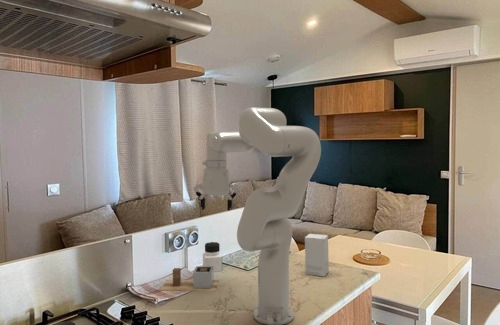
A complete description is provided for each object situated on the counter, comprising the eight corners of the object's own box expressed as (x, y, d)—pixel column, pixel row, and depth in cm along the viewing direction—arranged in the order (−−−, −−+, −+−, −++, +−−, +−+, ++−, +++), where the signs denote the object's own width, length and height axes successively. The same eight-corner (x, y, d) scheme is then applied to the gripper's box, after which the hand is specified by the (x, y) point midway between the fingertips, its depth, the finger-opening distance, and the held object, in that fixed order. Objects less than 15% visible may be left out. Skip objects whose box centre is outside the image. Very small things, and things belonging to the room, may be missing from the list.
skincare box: (329, 272, 157) (329, 235, 156) (324, 277, 151) (324, 238, 150) (309, 269, 161) (309, 232, 160) (304, 274, 155) (304, 236, 154)
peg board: (215, 293, 136) (215, 274, 136) (160, 293, 137) (159, 274, 136) (218, 282, 146) (218, 264, 146) (166, 282, 147) (166, 264, 146)
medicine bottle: (222, 273, 157) (222, 244, 156) (205, 274, 155) (204, 245, 154) (219, 267, 163) (219, 240, 163) (202, 269, 162) (202, 241, 161)
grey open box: (211, 288, 138) (211, 272, 137) (193, 288, 138) (193, 272, 138) (213, 282, 144) (213, 266, 144) (196, 281, 145) (196, 266, 144)
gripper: (191, 165, 140) (191, 211, 142) (238, 166, 139) (237, 212, 141) (195, 163, 147) (195, 206, 149) (240, 164, 146) (239, 208, 148)
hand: (216, 209), depth 145 cm, fingers open, 9 cm apart
